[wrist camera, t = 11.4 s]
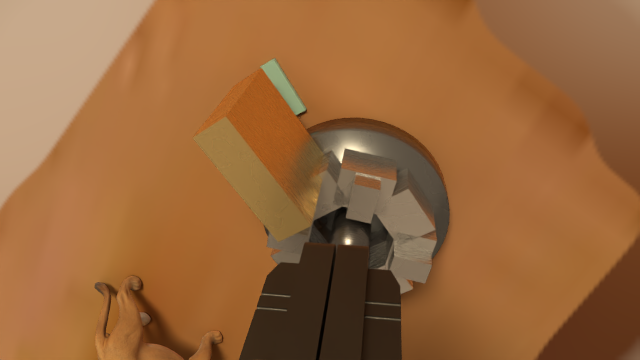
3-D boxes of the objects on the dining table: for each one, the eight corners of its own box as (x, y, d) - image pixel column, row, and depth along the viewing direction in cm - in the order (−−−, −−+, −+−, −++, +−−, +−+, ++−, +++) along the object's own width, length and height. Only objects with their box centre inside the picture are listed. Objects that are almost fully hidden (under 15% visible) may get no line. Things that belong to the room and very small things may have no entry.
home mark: (306, 108, 32) (305, 110, 32) (292, 115, 32) (292, 117, 32) (274, 57, 30) (273, 59, 30) (261, 65, 31) (259, 67, 31)
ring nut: (457, 243, 33) (471, 325, 27) (331, 297, 36) (318, 379, 30) (317, 30, 27) (295, 71, 21) (185, 118, 31) (134, 175, 25)
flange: (459, 258, 36) (470, 320, 31) (296, 280, 39) (281, 341, 34) (429, 99, 31) (436, 142, 25) (243, 138, 33) (215, 185, 28)
